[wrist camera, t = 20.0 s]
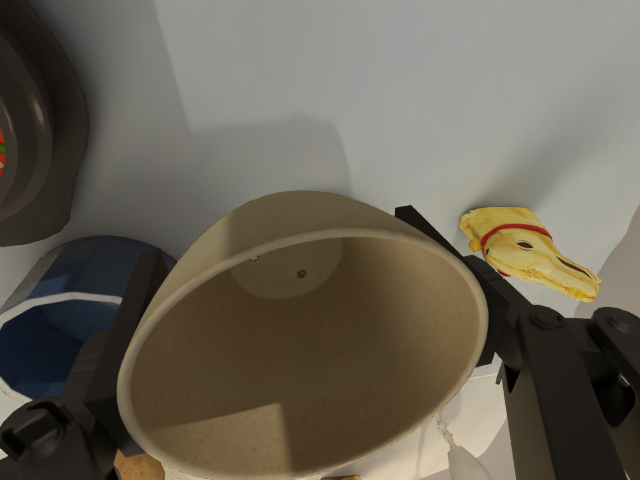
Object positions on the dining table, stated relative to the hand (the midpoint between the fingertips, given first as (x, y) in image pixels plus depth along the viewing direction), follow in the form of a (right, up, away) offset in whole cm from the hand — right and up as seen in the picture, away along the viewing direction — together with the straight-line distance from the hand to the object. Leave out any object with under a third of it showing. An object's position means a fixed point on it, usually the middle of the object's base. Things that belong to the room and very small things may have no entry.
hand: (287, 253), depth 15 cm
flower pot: (0, 0, 0) cm, 0 cm away
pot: (-20, -6, +22) cm, 31 cm away
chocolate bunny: (+22, +3, +28) cm, 36 cm away
